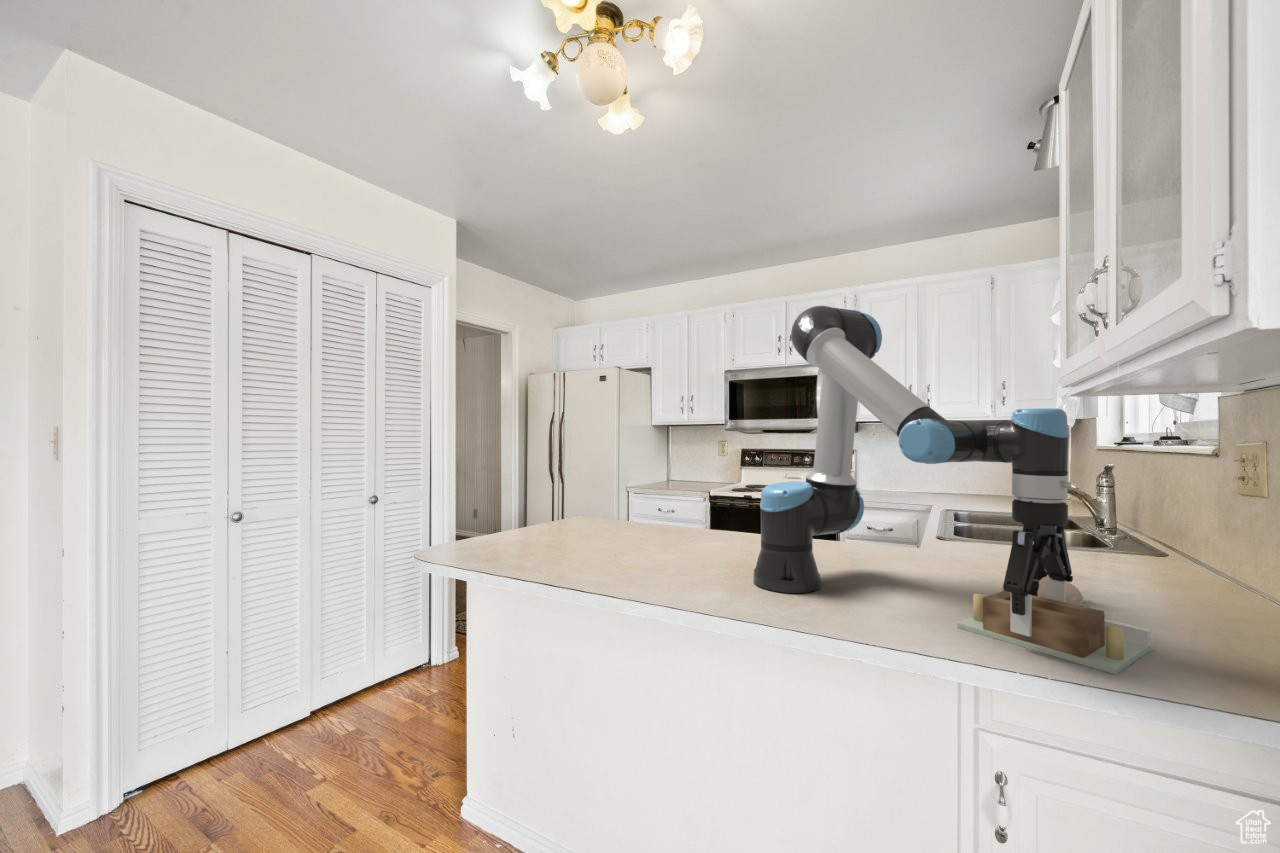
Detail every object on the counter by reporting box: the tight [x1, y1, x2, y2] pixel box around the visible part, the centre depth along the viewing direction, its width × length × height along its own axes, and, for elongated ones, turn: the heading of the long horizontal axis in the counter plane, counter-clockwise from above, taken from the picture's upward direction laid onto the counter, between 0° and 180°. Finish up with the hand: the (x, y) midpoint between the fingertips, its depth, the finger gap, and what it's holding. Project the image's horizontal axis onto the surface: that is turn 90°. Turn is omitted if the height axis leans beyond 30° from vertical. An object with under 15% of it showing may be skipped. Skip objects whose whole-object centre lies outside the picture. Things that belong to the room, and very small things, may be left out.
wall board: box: [956, 593, 1152, 675], centre depth 90 cm, size 22×16×5 cm
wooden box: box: [983, 590, 1106, 658], centre depth 88 cm, size 14×9×6 cm, turn 33°
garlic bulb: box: [1037, 569, 1084, 606], centre depth 103 cm, size 7×6×8 cm
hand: (1039, 625), depth 88 cm, fingers open, 13 cm apart
